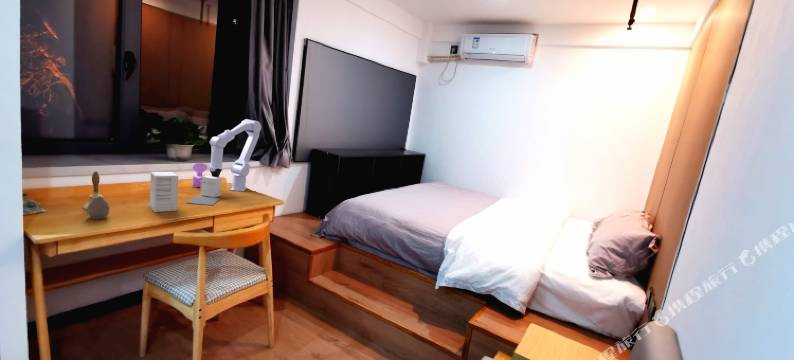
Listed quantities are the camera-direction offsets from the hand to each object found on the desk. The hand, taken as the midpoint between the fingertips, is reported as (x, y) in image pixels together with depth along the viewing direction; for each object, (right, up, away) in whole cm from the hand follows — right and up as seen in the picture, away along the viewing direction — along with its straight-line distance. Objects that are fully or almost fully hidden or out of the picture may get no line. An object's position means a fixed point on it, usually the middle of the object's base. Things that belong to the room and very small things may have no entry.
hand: (215, 181), depth 200 cm
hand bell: (-27, -11, -48) cm, 56 cm away
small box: (0, -8, -6) cm, 10 cm away
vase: (-17, -15, -58) cm, 63 cm away
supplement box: (-5, -13, -36) cm, 39 cm away
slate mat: (+3, -10, -16) cm, 19 cm away
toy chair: (-12, -4, +6) cm, 14 cm away
